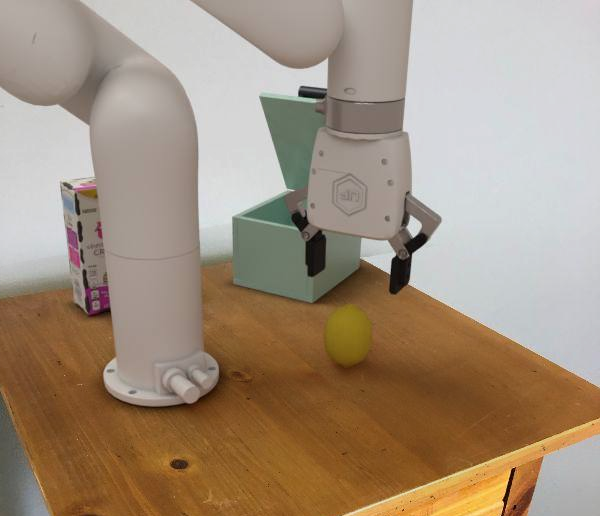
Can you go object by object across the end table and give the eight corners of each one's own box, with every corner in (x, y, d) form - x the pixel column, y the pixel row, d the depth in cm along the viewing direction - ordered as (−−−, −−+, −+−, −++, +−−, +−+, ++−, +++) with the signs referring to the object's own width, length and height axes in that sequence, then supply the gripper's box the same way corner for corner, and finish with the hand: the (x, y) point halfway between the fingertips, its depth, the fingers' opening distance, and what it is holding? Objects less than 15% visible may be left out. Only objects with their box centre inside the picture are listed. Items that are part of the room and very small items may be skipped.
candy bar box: (89, 317, 96) (73, 190, 88) (73, 304, 100) (56, 180, 91) (166, 298, 102) (158, 177, 94) (149, 286, 106) (139, 168, 97)
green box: (312, 303, 102) (315, 233, 97) (233, 284, 107) (231, 216, 102) (359, 267, 114) (364, 203, 109) (286, 252, 119) (287, 190, 114)
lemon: (332, 352, 90) (335, 290, 86) (376, 362, 88) (381, 299, 84) (314, 372, 86) (317, 308, 82) (360, 383, 84) (365, 318, 80)
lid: (345, 106, 95) (360, 81, 97) (258, 95, 100) (275, 71, 102) (363, 202, 109) (376, 178, 111) (286, 189, 114) (300, 165, 116)
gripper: (268, 113, 73) (269, 277, 82) (437, 133, 66) (418, 310, 75) (304, 102, 79) (301, 256, 88) (463, 119, 72) (443, 285, 81)
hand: (355, 281), depth 82 cm, fingers open, 9 cm apart
